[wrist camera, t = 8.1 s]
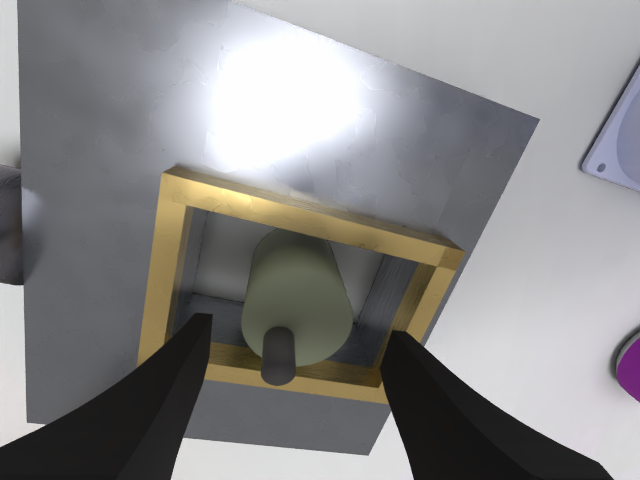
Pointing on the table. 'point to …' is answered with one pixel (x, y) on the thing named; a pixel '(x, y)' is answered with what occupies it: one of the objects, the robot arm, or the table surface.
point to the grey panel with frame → (231, 200)
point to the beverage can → (630, 366)
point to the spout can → (294, 304)
